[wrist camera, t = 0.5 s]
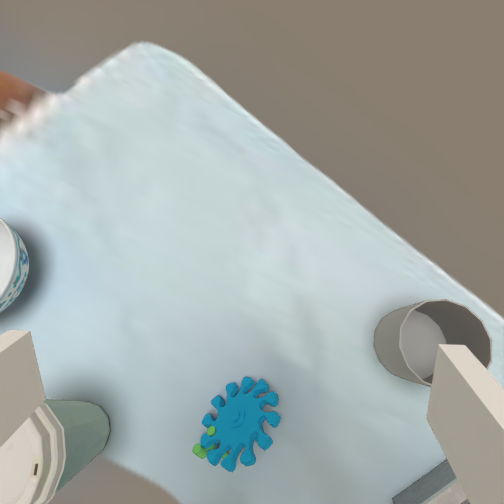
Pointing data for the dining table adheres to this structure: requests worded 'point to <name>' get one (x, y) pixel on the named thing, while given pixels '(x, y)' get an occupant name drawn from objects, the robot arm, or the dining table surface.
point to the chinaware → (11, 265)
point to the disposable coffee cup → (50, 450)
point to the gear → (238, 425)
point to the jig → (434, 488)
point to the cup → (428, 337)
